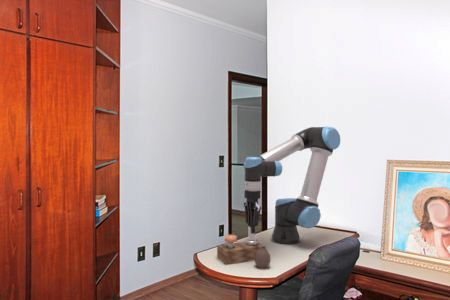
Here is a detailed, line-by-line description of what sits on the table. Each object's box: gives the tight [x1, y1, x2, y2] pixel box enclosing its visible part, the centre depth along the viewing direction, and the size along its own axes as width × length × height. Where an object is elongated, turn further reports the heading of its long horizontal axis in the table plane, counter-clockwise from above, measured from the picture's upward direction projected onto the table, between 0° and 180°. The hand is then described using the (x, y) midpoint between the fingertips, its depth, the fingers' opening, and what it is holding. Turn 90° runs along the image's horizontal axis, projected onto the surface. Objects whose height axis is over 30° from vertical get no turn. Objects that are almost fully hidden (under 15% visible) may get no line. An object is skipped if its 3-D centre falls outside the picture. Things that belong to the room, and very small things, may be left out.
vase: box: [254, 245, 271, 269], centre depth 159 cm, size 7×7×9 cm
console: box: [216, 241, 266, 266], centre depth 169 cm, size 20×10×6 cm, turn 114°
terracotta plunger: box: [224, 234, 238, 248], centre depth 167 cm, size 6×6×6 cm
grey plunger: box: [245, 238, 259, 246], centre depth 172 cm, size 6×6×6 cm
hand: (251, 239), depth 171 cm, fingers closed
